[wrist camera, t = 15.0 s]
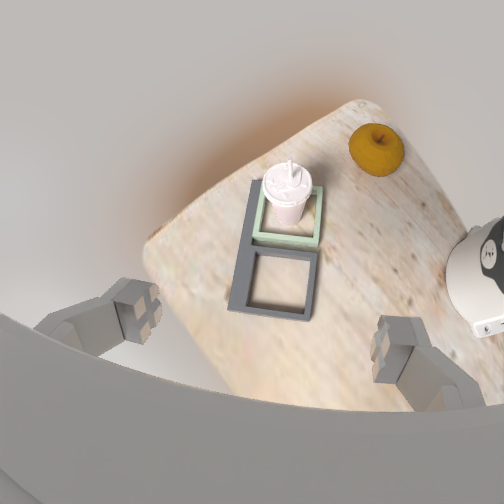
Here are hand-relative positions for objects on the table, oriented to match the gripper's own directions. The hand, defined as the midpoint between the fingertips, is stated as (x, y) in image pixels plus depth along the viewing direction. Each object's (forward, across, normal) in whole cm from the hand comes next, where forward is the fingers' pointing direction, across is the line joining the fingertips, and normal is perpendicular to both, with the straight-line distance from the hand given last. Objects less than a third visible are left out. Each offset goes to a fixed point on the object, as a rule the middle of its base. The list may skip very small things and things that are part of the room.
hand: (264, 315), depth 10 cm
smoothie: (+36, +2, +9) cm, 37 cm away
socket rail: (+32, +2, +12) cm, 34 cm away
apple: (+44, -11, +1) cm, 45 cm away
